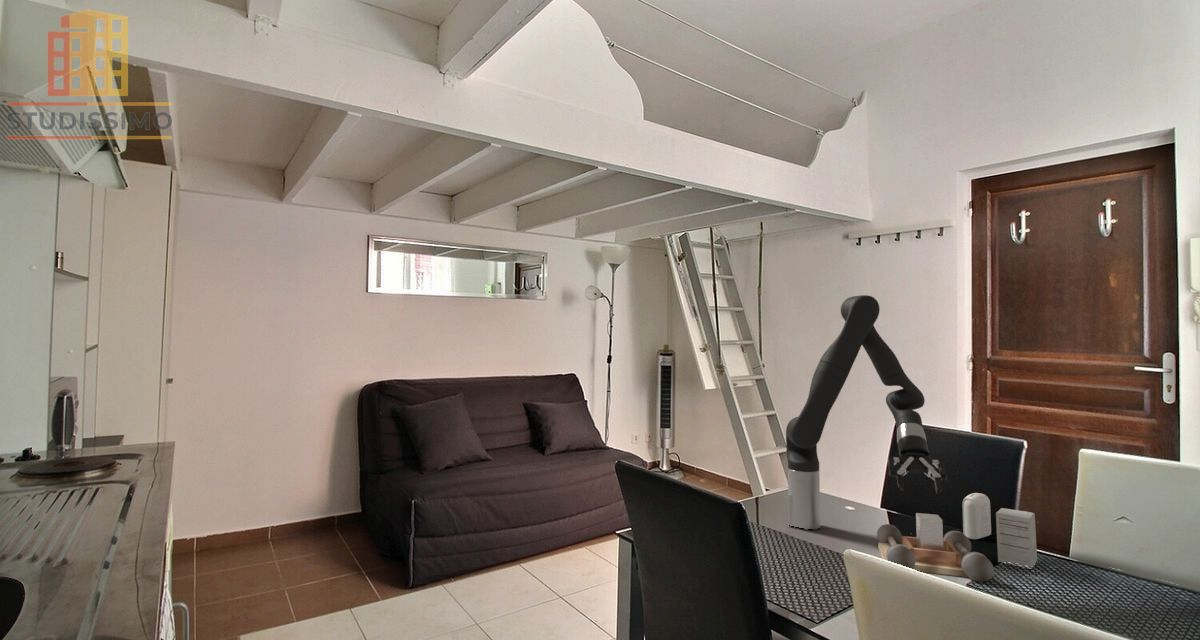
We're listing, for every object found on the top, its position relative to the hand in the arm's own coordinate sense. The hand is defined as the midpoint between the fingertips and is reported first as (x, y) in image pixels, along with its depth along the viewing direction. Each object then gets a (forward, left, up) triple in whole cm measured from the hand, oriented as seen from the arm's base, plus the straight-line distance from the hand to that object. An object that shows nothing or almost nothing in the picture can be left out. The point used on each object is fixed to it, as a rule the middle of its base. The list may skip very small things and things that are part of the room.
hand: (920, 490), depth 154 cm
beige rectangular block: (0, -10, -15) cm, 17 cm away
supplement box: (+21, -2, -16) cm, 27 cm away
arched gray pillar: (+18, +21, -16) cm, 32 cm away
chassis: (0, -10, -16) cm, 19 cm away
